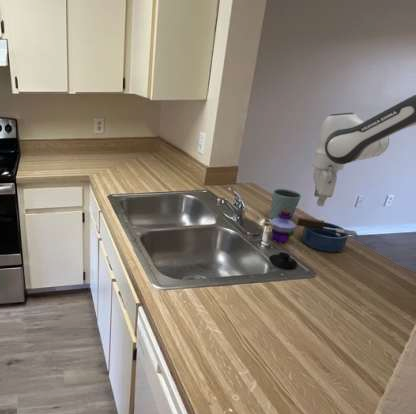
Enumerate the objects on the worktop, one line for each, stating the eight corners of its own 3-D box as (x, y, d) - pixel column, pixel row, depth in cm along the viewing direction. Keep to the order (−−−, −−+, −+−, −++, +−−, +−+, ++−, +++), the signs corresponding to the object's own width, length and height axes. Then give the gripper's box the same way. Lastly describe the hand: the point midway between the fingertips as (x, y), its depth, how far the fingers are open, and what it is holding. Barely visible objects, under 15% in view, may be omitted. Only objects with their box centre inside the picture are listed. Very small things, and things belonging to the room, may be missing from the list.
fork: (355, 232, 116) (357, 225, 115) (357, 236, 114) (359, 229, 112) (296, 222, 123) (298, 216, 122) (297, 226, 121) (299, 219, 120)
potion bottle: (291, 247, 119) (299, 217, 114) (264, 241, 123) (271, 212, 118) (292, 237, 125) (300, 208, 120) (267, 232, 129) (274, 204, 125)
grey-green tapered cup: (262, 214, 144) (268, 188, 140) (285, 213, 145) (291, 188, 140) (275, 224, 135) (282, 197, 130) (299, 224, 136) (306, 197, 131)
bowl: (340, 239, 124) (344, 225, 121) (346, 256, 113) (352, 241, 110) (299, 232, 129) (303, 218, 127) (302, 248, 118) (306, 233, 116)
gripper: (345, 171, 101) (333, 212, 106) (334, 156, 118) (325, 192, 123) (321, 169, 103) (310, 209, 109) (314, 154, 120) (305, 190, 126)
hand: (318, 200), depth 116 cm, fingers open, 8 cm apart
